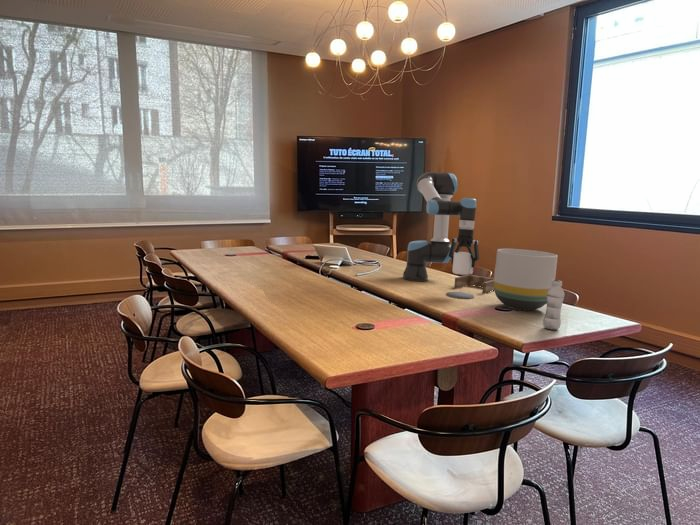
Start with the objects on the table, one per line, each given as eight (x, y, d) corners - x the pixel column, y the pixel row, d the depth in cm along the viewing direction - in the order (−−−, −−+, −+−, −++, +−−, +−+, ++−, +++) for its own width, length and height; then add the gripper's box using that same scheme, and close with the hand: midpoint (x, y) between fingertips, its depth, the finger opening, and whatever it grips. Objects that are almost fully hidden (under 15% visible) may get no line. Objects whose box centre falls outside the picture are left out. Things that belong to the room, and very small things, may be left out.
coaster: (441, 295, 244) (441, 294, 244) (453, 291, 255) (453, 290, 255) (467, 300, 236) (467, 299, 236) (478, 296, 247) (478, 295, 247)
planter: (563, 316, 214) (570, 257, 210) (508, 315, 209) (514, 255, 205) (531, 302, 240) (537, 249, 236) (481, 301, 235) (487, 247, 231)
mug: (477, 274, 242) (479, 253, 241) (460, 275, 236) (462, 254, 235) (465, 271, 250) (467, 251, 248) (448, 272, 244) (450, 251, 242)
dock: (454, 288, 265) (455, 277, 264) (467, 284, 279) (468, 274, 278) (485, 293, 254) (486, 283, 253) (497, 289, 268) (498, 279, 267)
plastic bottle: (539, 326, 194) (545, 278, 191) (554, 327, 194) (560, 279, 191) (547, 331, 187) (553, 282, 184) (563, 331, 188) (569, 282, 185)
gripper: (443, 226, 244) (440, 270, 247) (483, 230, 231) (479, 276, 234) (450, 226, 249) (446, 268, 253) (489, 230, 237) (484, 274, 240)
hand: (462, 272), depth 243 cm, fingers closed on mug, 9 cm apart
